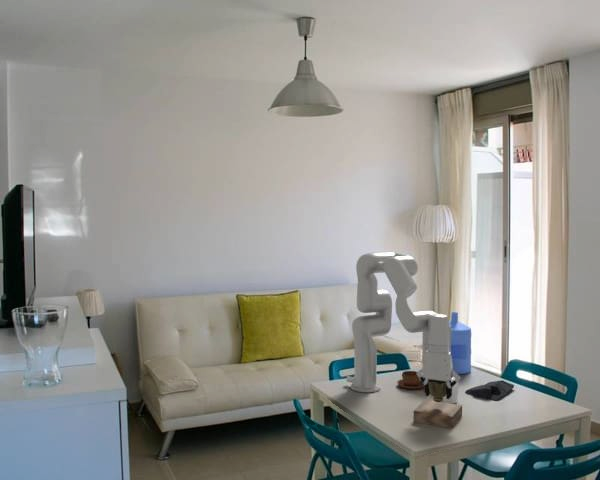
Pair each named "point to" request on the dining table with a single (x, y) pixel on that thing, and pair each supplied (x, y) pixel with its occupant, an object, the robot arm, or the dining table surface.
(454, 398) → the white cup
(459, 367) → the water jug
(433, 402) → the walnut plinth
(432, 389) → the cup
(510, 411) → the dining table surface
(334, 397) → the dining table surface
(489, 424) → the dining table surface
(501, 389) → the black crumpled fabric piece
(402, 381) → the cup and saucer
